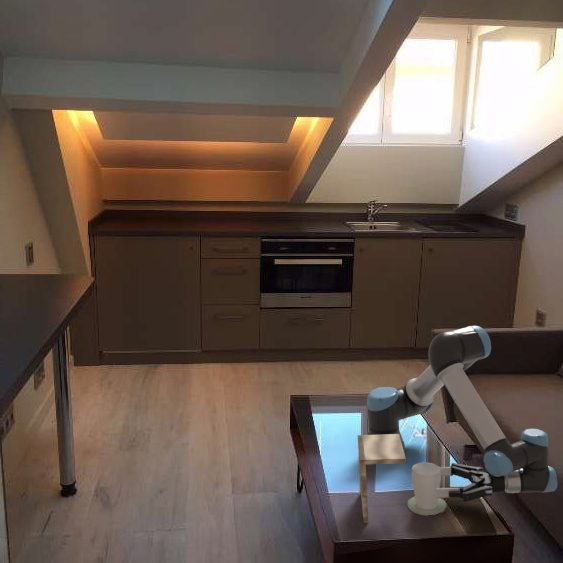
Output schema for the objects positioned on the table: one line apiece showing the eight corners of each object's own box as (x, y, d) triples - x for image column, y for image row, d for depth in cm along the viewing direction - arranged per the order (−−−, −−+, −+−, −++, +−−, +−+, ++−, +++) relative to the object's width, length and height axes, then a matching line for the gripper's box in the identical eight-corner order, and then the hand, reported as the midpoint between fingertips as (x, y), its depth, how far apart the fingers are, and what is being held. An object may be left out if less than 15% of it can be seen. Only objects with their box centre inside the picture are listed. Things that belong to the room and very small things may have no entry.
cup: (442, 512, 192) (441, 476, 190) (412, 511, 194) (411, 475, 192) (441, 497, 201) (440, 462, 199) (412, 496, 202) (411, 461, 201)
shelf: (401, 492, 207) (399, 433, 203) (408, 521, 189) (405, 458, 186) (360, 493, 208) (357, 435, 205) (363, 522, 190) (360, 459, 187)
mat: (418, 492, 206) (418, 491, 206) (452, 502, 198) (452, 501, 198) (400, 508, 197) (400, 507, 197) (435, 520, 189) (435, 518, 189)
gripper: (514, 512, 182) (440, 514, 184) (493, 472, 206) (428, 474, 208) (514, 489, 180) (439, 490, 182) (492, 451, 205) (427, 453, 207)
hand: (433, 481), depth 195 cm, fingers open, 13 cm apart
